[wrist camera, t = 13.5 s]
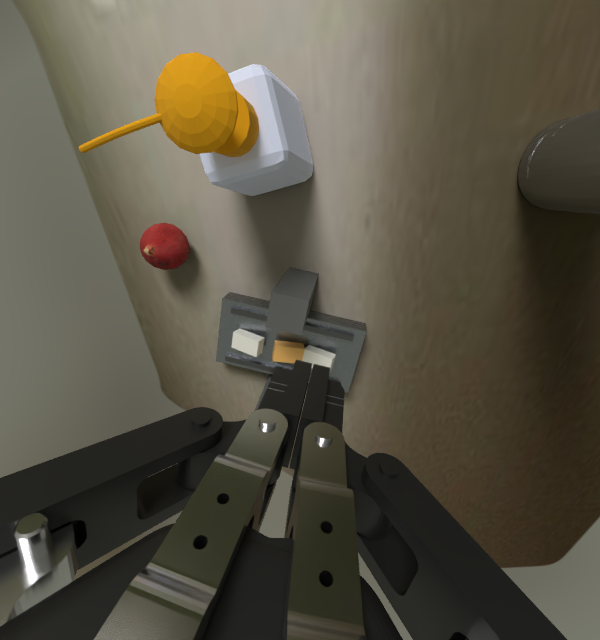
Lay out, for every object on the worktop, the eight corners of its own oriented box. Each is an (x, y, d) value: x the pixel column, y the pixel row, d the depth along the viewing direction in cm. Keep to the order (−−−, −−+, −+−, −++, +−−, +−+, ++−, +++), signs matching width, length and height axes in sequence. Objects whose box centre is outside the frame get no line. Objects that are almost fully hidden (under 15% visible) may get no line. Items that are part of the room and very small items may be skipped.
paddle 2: (336, 354, 44) (332, 359, 42) (331, 369, 45) (328, 374, 43) (309, 344, 45) (304, 348, 44) (305, 359, 46) (301, 364, 45)
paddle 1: (264, 337, 44) (258, 341, 43) (261, 352, 45) (256, 357, 44) (239, 328, 46) (233, 331, 44) (237, 343, 46) (231, 347, 45)
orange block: (303, 343, 45) (304, 348, 44) (300, 358, 46) (301, 364, 45) (274, 340, 44) (275, 345, 43) (272, 355, 45) (272, 361, 44)
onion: (203, 259, 46) (176, 272, 38) (167, 266, 47) (133, 280, 40) (191, 217, 44) (160, 222, 37) (153, 225, 45) (115, 231, 38)
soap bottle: (189, 127, 40) (23, 59, 19) (297, 90, 37) (236, -37, 16) (215, 207, 43) (95, 221, 22) (317, 178, 40) (285, 164, 20)
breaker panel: (365, 323, 46) (366, 333, 43) (348, 381, 50) (348, 395, 47) (229, 292, 47) (220, 299, 44) (223, 351, 51) (214, 362, 48)
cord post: (318, 273, 44) (309, 301, 33) (312, 300, 46) (301, 335, 35) (290, 267, 45) (271, 292, 34) (285, 294, 46) (265, 327, 35)
